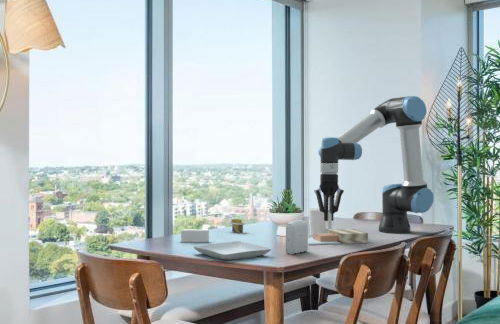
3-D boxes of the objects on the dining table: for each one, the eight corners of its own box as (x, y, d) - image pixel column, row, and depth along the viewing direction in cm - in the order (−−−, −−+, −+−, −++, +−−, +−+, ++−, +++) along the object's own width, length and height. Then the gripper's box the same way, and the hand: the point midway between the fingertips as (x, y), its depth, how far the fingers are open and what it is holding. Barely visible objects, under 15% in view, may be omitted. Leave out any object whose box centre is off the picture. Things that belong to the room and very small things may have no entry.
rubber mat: (325, 238, 251) (325, 237, 251) (340, 244, 236) (340, 242, 236) (295, 239, 247) (295, 238, 247) (308, 245, 232) (308, 243, 232)
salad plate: (223, 263, 192) (224, 253, 192) (192, 254, 209) (192, 245, 209) (272, 257, 205) (272, 248, 205) (239, 249, 222) (239, 240, 222)
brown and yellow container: (238, 236, 260) (238, 221, 260) (214, 232, 274) (214, 218, 273) (257, 234, 267) (258, 220, 267) (234, 230, 281) (234, 216, 281)
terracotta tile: (330, 238, 248) (330, 232, 248) (338, 241, 240) (338, 235, 240) (313, 239, 245) (313, 233, 245) (320, 241, 238) (320, 235, 238)
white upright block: (293, 255, 208) (293, 221, 208) (283, 253, 211) (284, 220, 211) (309, 251, 216) (309, 219, 216) (299, 250, 219) (300, 218, 219)
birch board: (353, 238, 253) (353, 229, 253) (367, 242, 240) (367, 233, 240) (328, 238, 250) (328, 229, 250) (341, 243, 237) (341, 234, 237)
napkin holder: (216, 242, 242) (216, 228, 242) (201, 245, 232) (201, 231, 232) (187, 239, 249) (187, 226, 249) (171, 242, 239) (171, 229, 239)
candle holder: (329, 237, 255) (329, 210, 255) (307, 236, 257) (307, 210, 257) (330, 234, 265) (330, 208, 265) (309, 233, 267) (309, 208, 267)
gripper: (318, 173, 237) (317, 230, 237) (346, 173, 241) (346, 229, 241) (311, 173, 245) (311, 227, 245) (339, 173, 248) (339, 227, 248)
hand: (328, 228), depth 243 cm, fingers closed
